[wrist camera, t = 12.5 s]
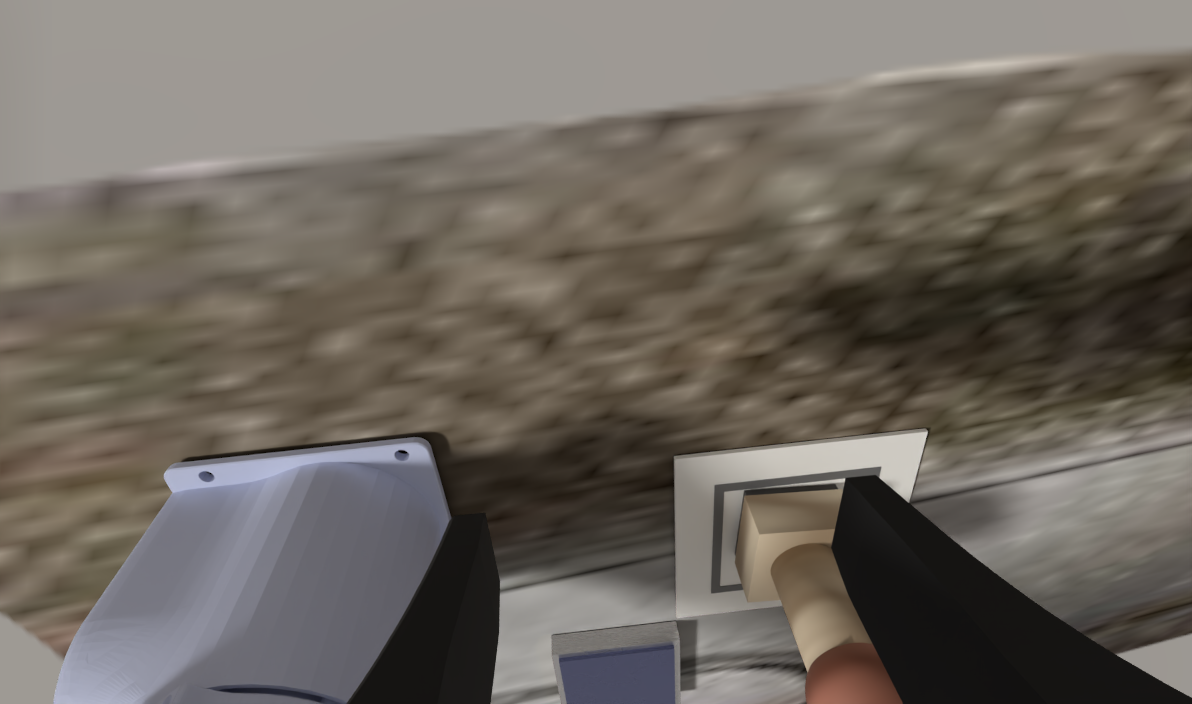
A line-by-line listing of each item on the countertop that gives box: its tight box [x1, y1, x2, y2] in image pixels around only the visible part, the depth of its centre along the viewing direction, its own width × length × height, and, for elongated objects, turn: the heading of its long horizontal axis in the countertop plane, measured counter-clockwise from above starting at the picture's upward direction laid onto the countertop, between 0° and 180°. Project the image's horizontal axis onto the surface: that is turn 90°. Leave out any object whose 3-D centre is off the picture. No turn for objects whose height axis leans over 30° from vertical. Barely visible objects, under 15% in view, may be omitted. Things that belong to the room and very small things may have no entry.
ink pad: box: [551, 621, 681, 704], centre depth 31 cm, size 6×6×1 cm
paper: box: [674, 428, 928, 618], centre depth 27 cm, size 10×10×1 cm
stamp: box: [735, 484, 903, 704], centre depth 23 cm, size 4×4×9 cm
